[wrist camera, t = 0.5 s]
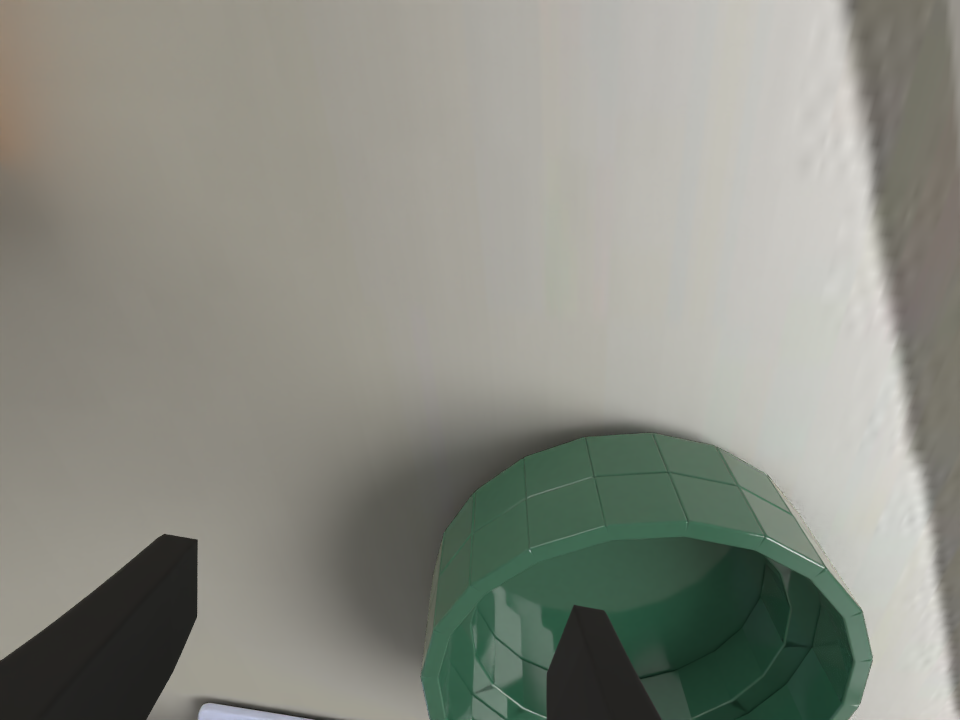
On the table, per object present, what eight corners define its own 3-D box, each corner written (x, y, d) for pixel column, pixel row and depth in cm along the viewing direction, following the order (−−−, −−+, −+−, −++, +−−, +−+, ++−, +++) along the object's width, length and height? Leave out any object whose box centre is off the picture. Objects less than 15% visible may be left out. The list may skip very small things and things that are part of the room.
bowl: (713, 712, 28) (755, 838, 24) (409, 660, 27) (391, 781, 22) (869, 467, 22) (965, 575, 17) (479, 386, 21) (474, 479, 16)
